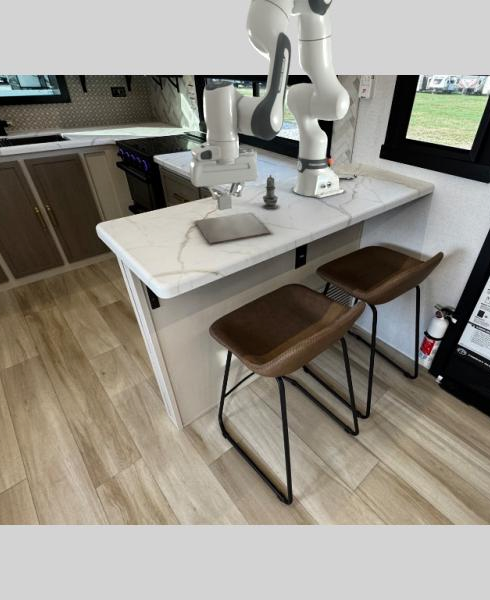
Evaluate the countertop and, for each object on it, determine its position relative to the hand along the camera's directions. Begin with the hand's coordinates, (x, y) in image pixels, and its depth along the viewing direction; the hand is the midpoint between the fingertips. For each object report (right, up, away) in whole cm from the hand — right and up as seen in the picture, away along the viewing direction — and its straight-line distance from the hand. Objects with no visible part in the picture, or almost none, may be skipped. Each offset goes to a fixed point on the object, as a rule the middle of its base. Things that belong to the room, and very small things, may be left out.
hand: (226, 197), depth 99 cm
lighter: (0, -3, +2) cm, 4 cm away
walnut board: (0, -8, +7) cm, 10 cm away
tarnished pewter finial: (+12, +4, +24) cm, 27 cm away
